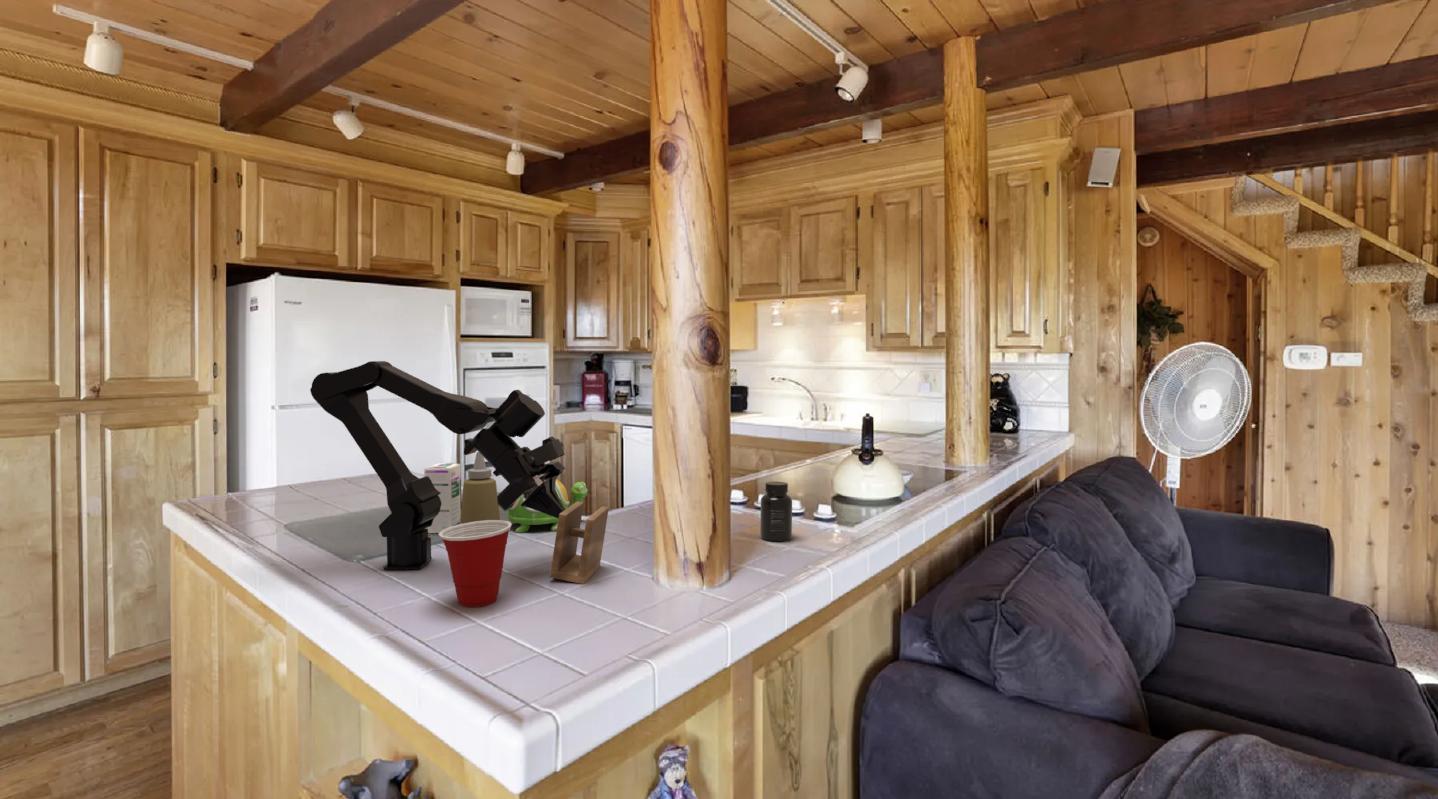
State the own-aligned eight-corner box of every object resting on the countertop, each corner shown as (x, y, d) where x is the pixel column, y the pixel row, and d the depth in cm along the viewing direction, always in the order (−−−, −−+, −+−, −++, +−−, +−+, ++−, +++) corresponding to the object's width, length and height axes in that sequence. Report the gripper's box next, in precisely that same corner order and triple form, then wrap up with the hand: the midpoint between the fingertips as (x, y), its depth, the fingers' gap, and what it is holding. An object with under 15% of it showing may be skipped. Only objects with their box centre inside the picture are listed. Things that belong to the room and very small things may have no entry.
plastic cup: (456, 587, 112) (456, 516, 111) (521, 589, 112) (521, 518, 111) (426, 612, 101) (425, 534, 100) (497, 614, 101) (497, 536, 100)
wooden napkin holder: (549, 577, 116) (559, 513, 115) (568, 559, 126) (577, 501, 125) (583, 584, 115) (593, 520, 114) (599, 565, 125) (608, 507, 124)
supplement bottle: (797, 537, 147) (798, 482, 146) (782, 544, 141) (784, 487, 140) (769, 532, 150) (770, 479, 150) (754, 538, 145) (755, 483, 144)
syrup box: (452, 534, 144) (451, 467, 143) (424, 533, 144) (423, 466, 143) (462, 527, 150) (461, 462, 149) (436, 526, 150) (435, 462, 149)
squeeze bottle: (487, 542, 138) (486, 456, 137) (451, 540, 140) (451, 454, 139) (507, 532, 146) (507, 450, 145) (473, 530, 148) (472, 448, 147)
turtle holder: (594, 528, 152) (594, 475, 151) (511, 536, 144) (510, 480, 143) (581, 515, 163) (582, 466, 162) (503, 522, 155) (503, 471, 154)
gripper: (514, 429, 110) (580, 498, 110) (553, 418, 128) (610, 477, 128) (469, 476, 111) (534, 544, 111) (514, 459, 130) (571, 517, 129)
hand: (565, 518), depth 120 cm, fingers closed
